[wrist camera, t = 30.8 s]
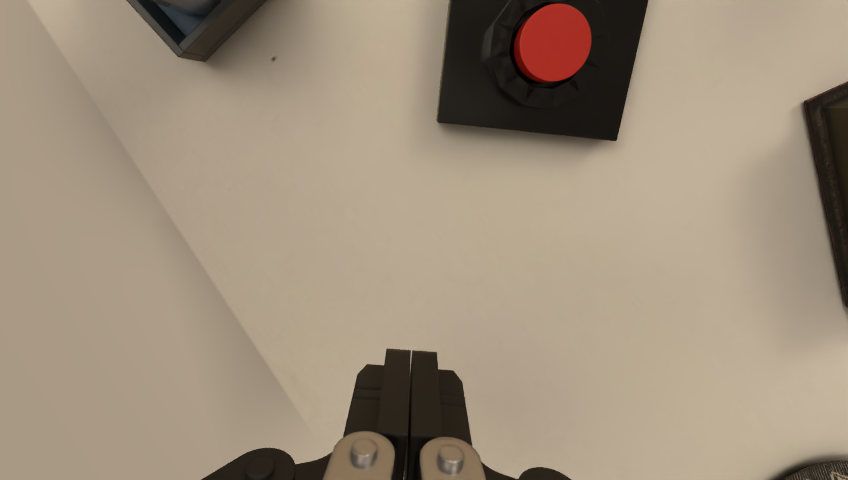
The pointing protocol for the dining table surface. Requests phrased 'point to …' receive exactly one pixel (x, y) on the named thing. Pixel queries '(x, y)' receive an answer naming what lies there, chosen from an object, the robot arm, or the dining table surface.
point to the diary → (833, 166)
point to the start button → (552, 43)
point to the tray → (196, 25)
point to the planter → (823, 472)
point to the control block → (524, 98)
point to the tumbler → (190, 6)
